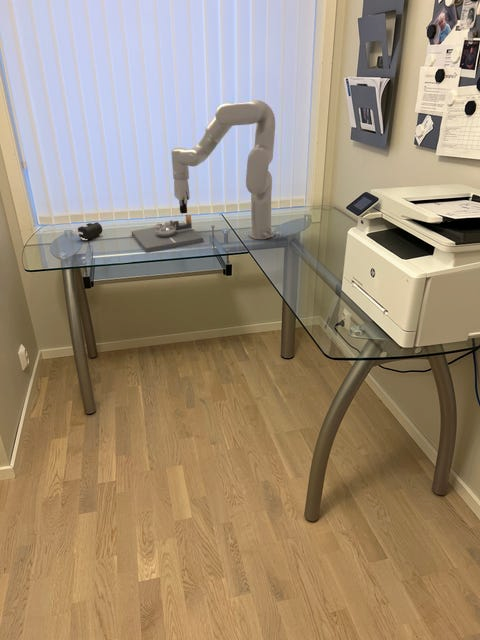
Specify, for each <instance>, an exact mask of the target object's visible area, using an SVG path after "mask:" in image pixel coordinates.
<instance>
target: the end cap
mask: <svg viewBox="0 0 480 640" xmlns="http://www.w3.org/2000/svg"><path fill="white" fill-rule="evenodd" d="M85 225H86V226H79V227H77V232H78V237H79V238H81V237H82V238H85V239H90V240H92V239H94V238H96V237H98V235H99V236H100V235H101V234H102V233H103V227H102V225H101V224H100V222H97V221H96V222H94V223H91V222H90V223H86V224H85ZM81 233H82V234H81ZM91 238H92V239H91Z"/></svg>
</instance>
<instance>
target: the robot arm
mask: <svg viewBox="0 0 480 640" xmlns="http://www.w3.org/2000/svg"><path fill="white" fill-rule="evenodd" d="M253 124H256V129H255V135H254V146H253V148H252V149H251V150H250V151H249V154H248V157H247V163H246V174H245V176H246V177H245V187H246V189H247V191H248V192H249V193H250V209H251V210H250V212H251V213H250V214H251V215H250V216H251V217H250V218H251V230H250V231H249V232H248V237H249V238H250V239H254V240H268V239H267V238H269V239H271V238H270V237H272V238H273V237H275V231H273V230H272V189H273V177H272V173H271V172H270V171H269V166H270V165H271V163H272V162H273V158H274V147H275V146H274V145H275V136H276V135H275V134H276V117H275V113H274V111H273V109H272V107H270V105H269V104H268V103H266V102H265V101H263V100H261V99H260V100H259V99H254V100H251V101H248V102H242V103H241V102H240V103H239V102H238V103H234V102H229V101H228V102H226V103H222V104H220V105H219V106H217V109H216V110H215V114H214V117H212V119H211V120H210V121H209V123H208V124H207V125H206V127H205V133H204V135H203V136H202V138H201V139H200V141H199V142H198V143H197V145H196V146H195V147H192V148H190V149H186V148H185V147H174V148H172V149H171V165H172V176H173V177H172V178H173V189H174V190H173V191H174V197H175V198H176V199H177V200H178V204H179V213H180V214H183V215H184V214H187V213H188V201H189V200H190V187H189V181H188V180H189V179H190V174H189V173H190V172H189V167H197V166H199V165H200V164H202V163H203V162H205V161H206V160H207V159H208V158H209V156H210V155H211V154H212V153H213V151H214V150H215V149H216V148H217V146H218V145H219V144H220V142H221V141H222V140H223V138H224V137H225V135H226V134H227V133H229V131H230V130H231V128H232V127H234V126H245V125H253Z"/></svg>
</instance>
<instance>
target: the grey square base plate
mask: <svg viewBox="0 0 480 640" xmlns="http://www.w3.org/2000/svg"><path fill="white" fill-rule="evenodd" d="M182 224H186V221H185V222H184V221H182V222H179V225H182ZM176 232H177V233H176V235H174V236H170V237H158V236H156V231H155V226H153V227H148V228H141V229H135V230H131V236H132V237H133V238H134V239H135V240H136V242H138V244H139V245H140V246H141V247H142V249H143V250H144V251H145V253H150V252H156V251H160V250H161V251H162V250H167V249H171V248H177V247H183V246H189V245H194V244H198V243H199V244H200V243H204V236H202V235H201V234H199V233H198V232H197V231H196V230H195V229H193V227H192V228H188V229H182V230H176Z"/></svg>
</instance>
